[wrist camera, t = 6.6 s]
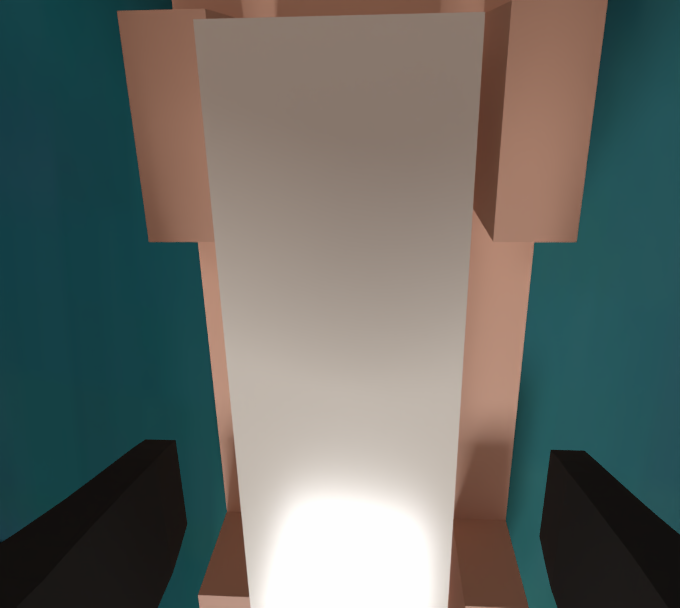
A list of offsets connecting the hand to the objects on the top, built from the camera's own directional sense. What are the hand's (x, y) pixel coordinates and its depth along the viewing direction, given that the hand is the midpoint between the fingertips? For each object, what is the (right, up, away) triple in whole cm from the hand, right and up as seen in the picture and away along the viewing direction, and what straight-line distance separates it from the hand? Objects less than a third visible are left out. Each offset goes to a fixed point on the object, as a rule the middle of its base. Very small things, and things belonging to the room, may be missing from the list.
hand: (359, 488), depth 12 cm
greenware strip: (0, +2, +4) cm, 4 cm away
